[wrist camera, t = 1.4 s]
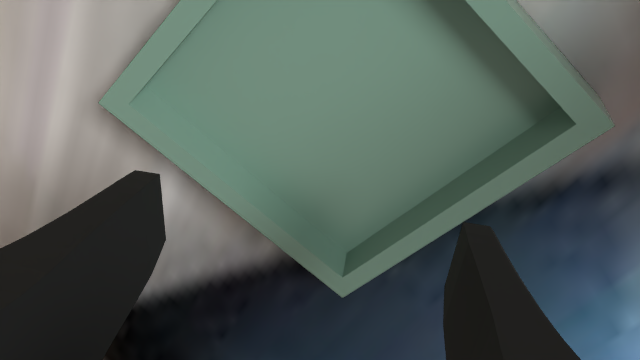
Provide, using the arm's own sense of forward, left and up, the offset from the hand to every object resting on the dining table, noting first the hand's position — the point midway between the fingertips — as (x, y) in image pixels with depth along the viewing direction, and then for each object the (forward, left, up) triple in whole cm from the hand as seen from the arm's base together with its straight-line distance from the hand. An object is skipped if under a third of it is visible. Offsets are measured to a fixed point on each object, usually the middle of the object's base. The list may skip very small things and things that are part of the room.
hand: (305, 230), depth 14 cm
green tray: (0, 0, -8) cm, 8 cm away
